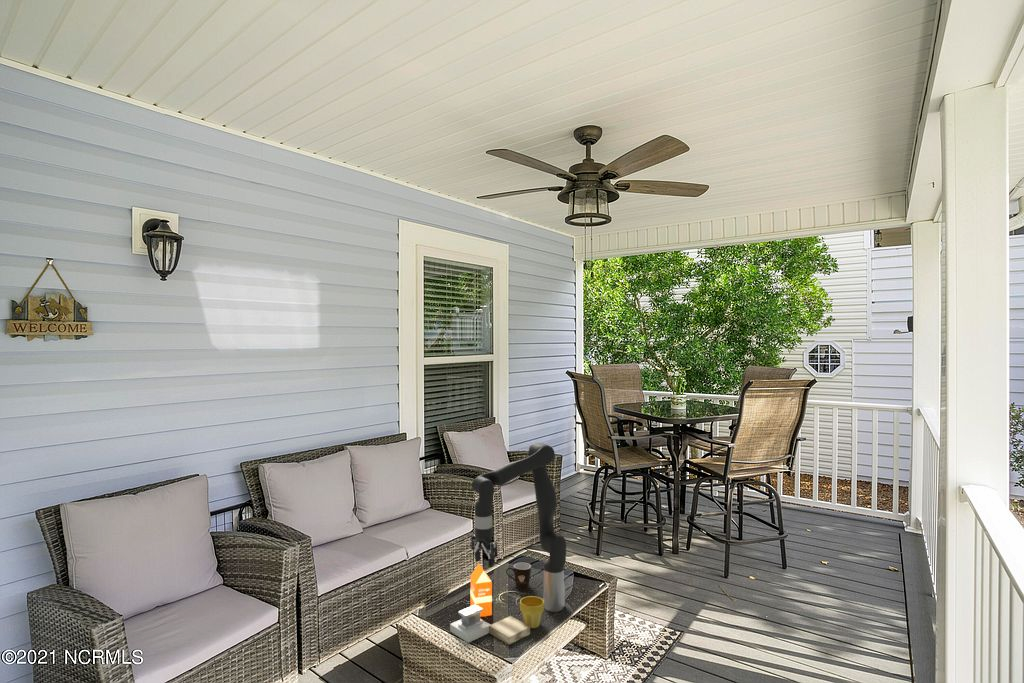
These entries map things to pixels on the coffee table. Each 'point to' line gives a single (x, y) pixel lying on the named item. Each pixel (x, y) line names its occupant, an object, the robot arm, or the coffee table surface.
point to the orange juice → (481, 591)
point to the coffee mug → (521, 575)
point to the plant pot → (532, 610)
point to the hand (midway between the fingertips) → (484, 563)
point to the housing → (470, 617)
